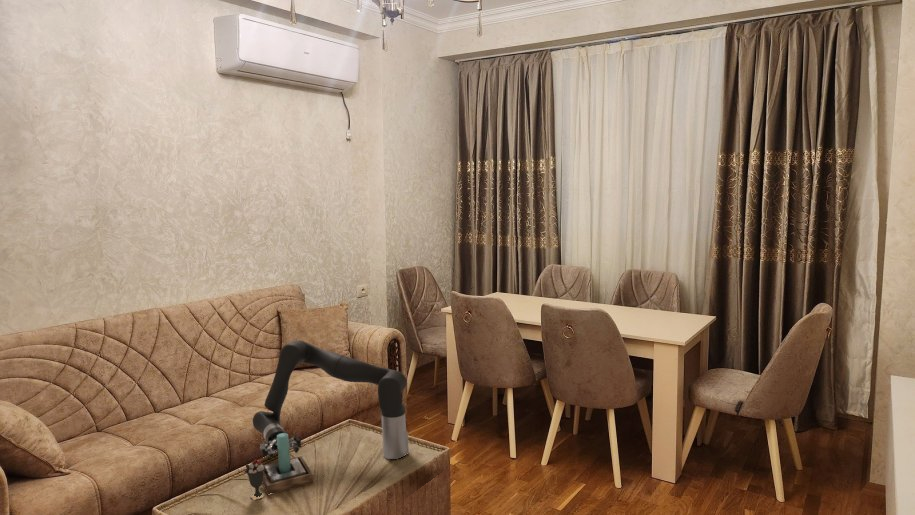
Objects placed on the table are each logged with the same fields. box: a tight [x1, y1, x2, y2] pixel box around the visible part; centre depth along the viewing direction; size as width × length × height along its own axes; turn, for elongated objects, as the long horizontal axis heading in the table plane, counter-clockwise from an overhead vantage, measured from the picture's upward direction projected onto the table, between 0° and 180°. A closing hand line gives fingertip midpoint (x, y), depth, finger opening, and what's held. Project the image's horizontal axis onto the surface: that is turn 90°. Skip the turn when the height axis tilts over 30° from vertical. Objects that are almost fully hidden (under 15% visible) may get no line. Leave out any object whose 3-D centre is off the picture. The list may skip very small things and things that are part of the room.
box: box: [262, 455, 314, 495], centre depth 230 cm, size 16×16×4 cm
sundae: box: [244, 454, 266, 497], centre depth 218 cm, size 7×7×15 cm
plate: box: [265, 457, 306, 484], centre depth 230 cm, size 12×12×3 cm
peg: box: [277, 432, 291, 474], centre depth 229 cm, size 4×4×16 cm
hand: (284, 453), depth 227 cm, fingers open, 8 cm apart
